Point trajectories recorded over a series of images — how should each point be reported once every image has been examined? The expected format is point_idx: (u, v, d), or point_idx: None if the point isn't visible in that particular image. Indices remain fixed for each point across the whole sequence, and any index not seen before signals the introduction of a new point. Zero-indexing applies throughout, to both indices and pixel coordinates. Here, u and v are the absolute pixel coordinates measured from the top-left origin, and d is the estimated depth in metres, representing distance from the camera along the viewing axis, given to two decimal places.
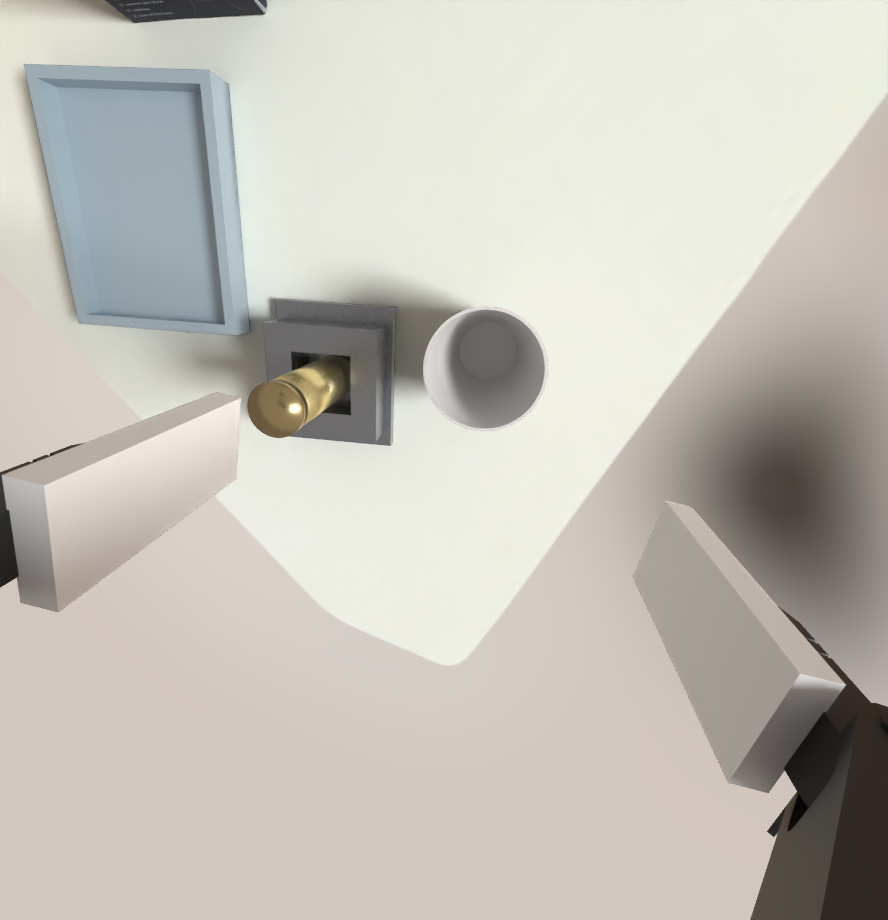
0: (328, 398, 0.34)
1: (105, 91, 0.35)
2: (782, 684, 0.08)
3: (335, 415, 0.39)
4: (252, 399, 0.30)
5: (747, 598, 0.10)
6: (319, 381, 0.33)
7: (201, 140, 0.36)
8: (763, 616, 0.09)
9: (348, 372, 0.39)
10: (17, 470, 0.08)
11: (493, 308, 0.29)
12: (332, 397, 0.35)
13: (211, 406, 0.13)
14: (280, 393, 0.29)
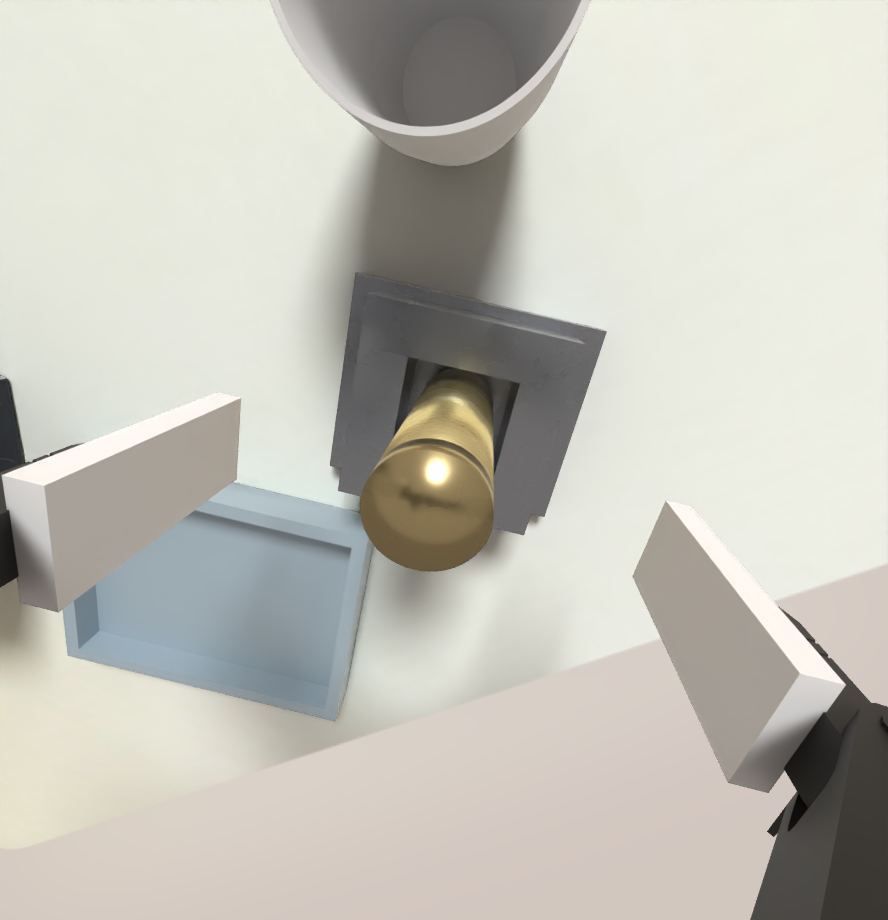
0: (459, 406, 0.16)
1: (98, 585, 0.30)
2: (782, 684, 0.08)
3: (515, 413, 0.20)
4: (394, 552, 0.13)
5: (747, 598, 0.10)
6: (418, 411, 0.16)
7: None
8: (763, 616, 0.09)
9: (447, 374, 0.22)
10: (17, 470, 0.08)
11: None
12: (466, 401, 0.17)
13: (211, 406, 0.13)
14: (386, 489, 0.12)
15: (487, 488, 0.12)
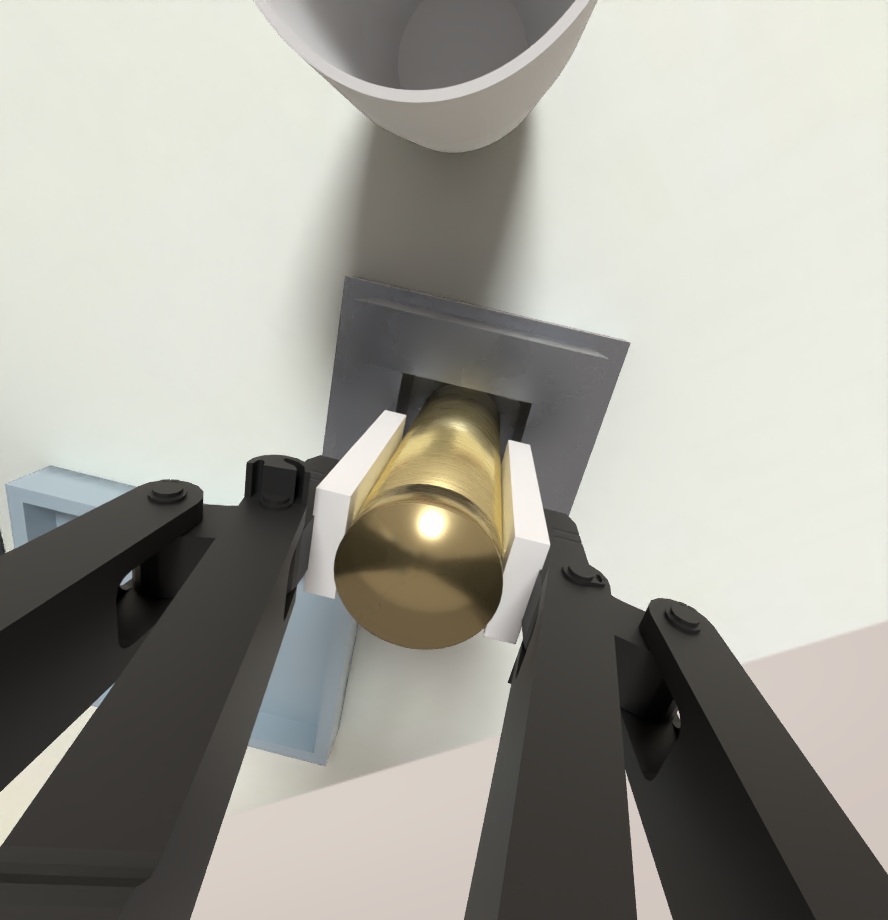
0: (460, 434, 0.14)
1: None
2: (509, 549, 0.10)
3: (526, 438, 0.17)
4: (377, 626, 0.10)
5: (519, 497, 0.12)
6: (412, 441, 0.14)
7: None
8: (520, 507, 0.11)
9: (449, 391, 0.19)
10: (322, 483, 0.10)
11: None
12: (469, 426, 0.15)
13: (394, 424, 0.15)
14: (366, 550, 0.10)
15: (495, 551, 0.10)
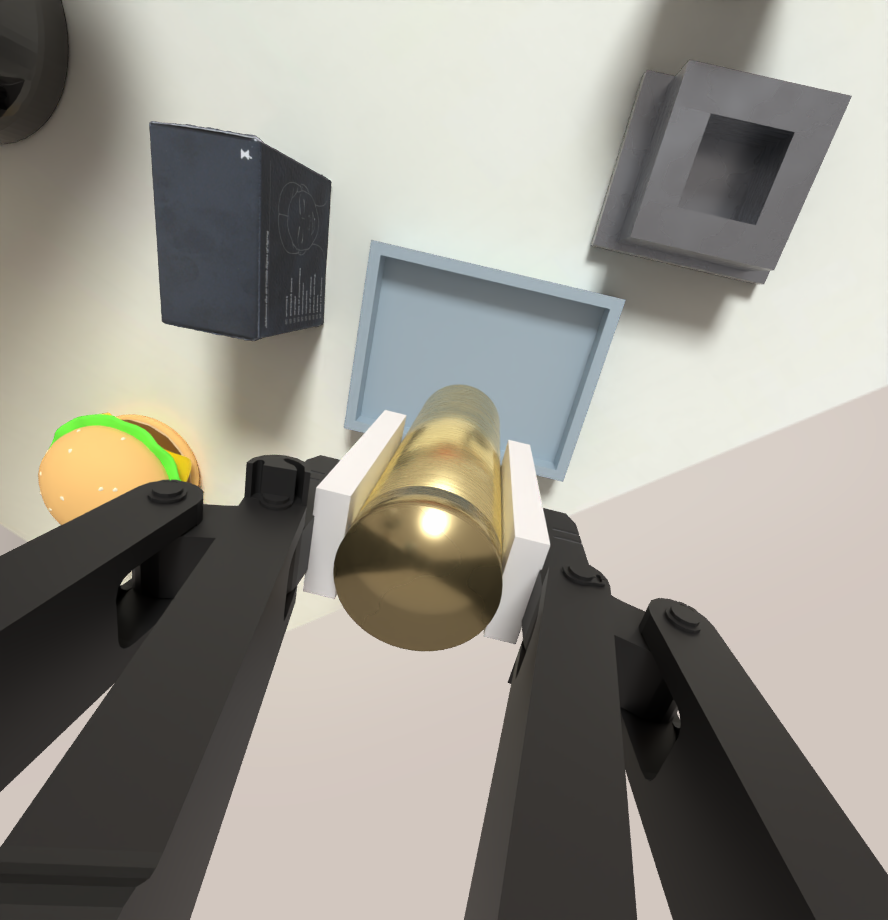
0: (460, 436, 0.14)
1: (369, 370, 0.37)
2: (509, 549, 0.10)
3: (786, 159, 0.27)
4: (377, 628, 0.10)
5: (519, 497, 0.12)
6: (411, 443, 0.14)
7: (422, 284, 0.35)
8: (520, 507, 0.11)
9: (448, 392, 0.19)
10: (322, 483, 0.10)
11: None
12: (468, 428, 0.15)
13: (394, 424, 0.15)
14: (366, 552, 0.10)
15: (494, 553, 0.10)
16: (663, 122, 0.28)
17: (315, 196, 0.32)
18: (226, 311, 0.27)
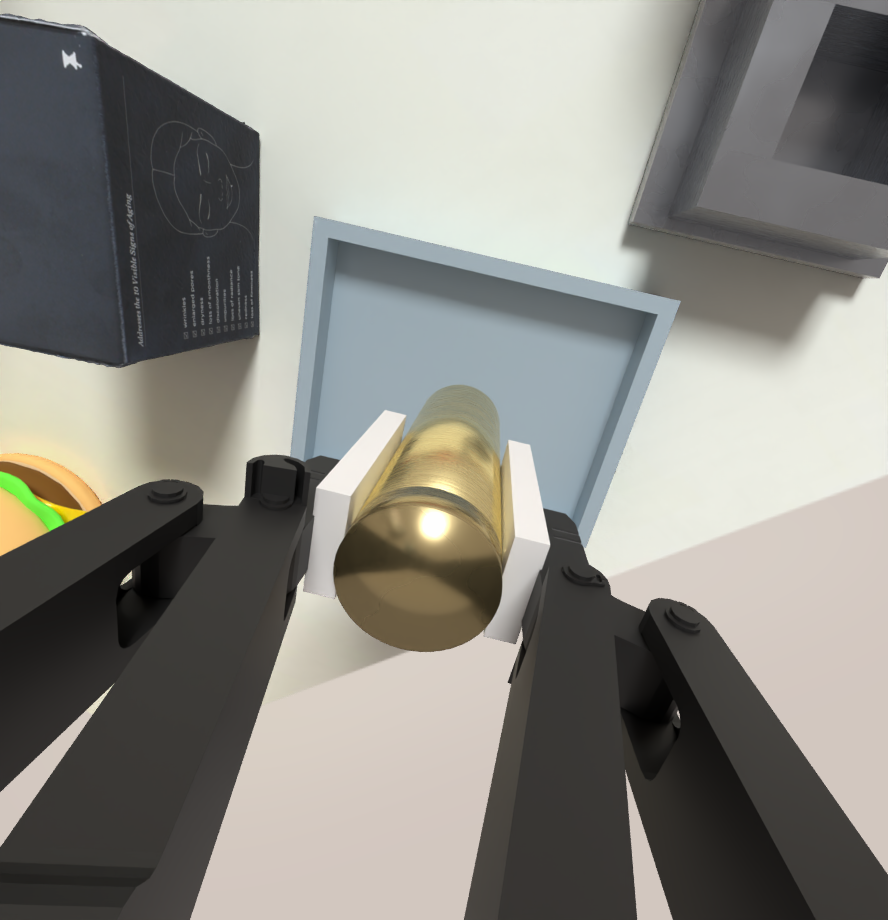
0: (460, 436, 0.14)
1: (323, 397, 0.28)
2: (509, 549, 0.10)
3: None
4: (377, 628, 0.10)
5: (519, 497, 0.12)
6: (411, 443, 0.14)
7: (391, 280, 0.25)
8: (520, 507, 0.11)
9: (448, 392, 0.19)
10: (322, 483, 0.10)
11: None
12: (468, 428, 0.15)
13: (394, 424, 0.15)
14: (365, 552, 0.10)
15: (494, 554, 0.10)
16: (752, 26, 0.18)
17: (231, 151, 0.22)
18: (72, 323, 0.17)
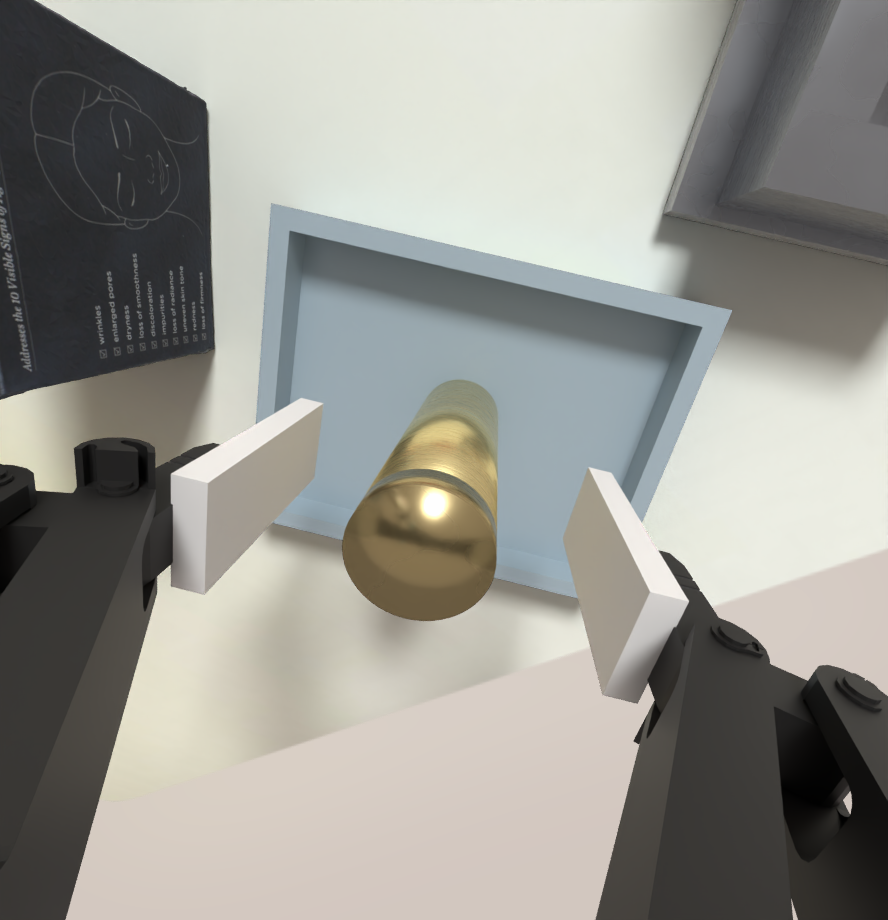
0: (459, 426, 0.15)
1: None
2: (640, 603, 0.09)
3: None
4: (382, 599, 0.11)
5: (630, 540, 0.11)
6: (414, 432, 0.14)
7: (370, 284, 0.20)
8: (638, 552, 0.10)
9: (449, 387, 0.20)
10: (180, 469, 0.09)
11: None
12: (467, 419, 0.16)
13: (303, 412, 0.14)
14: (372, 528, 0.11)
15: (489, 529, 0.10)
16: None
17: (164, 122, 0.17)
18: None
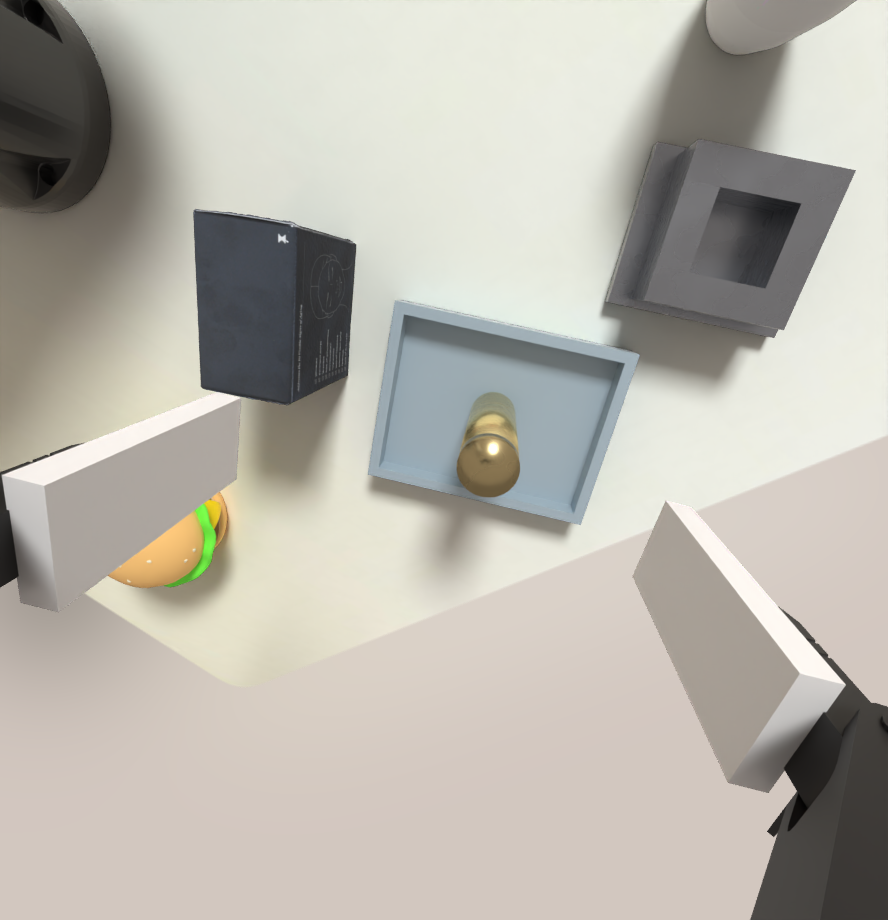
0: (499, 417, 0.31)
1: (392, 419, 0.39)
2: (782, 684, 0.08)
3: (794, 228, 0.28)
4: (471, 488, 0.27)
5: (747, 598, 0.10)
6: (478, 420, 0.30)
7: (443, 339, 0.36)
8: (763, 616, 0.09)
9: (488, 396, 0.36)
10: (17, 470, 0.08)
11: None
12: (502, 413, 0.32)
13: (212, 406, 0.13)
14: (469, 456, 0.27)
15: (517, 456, 0.26)
16: (674, 193, 0.29)
17: (342, 261, 0.33)
18: (262, 379, 0.29)
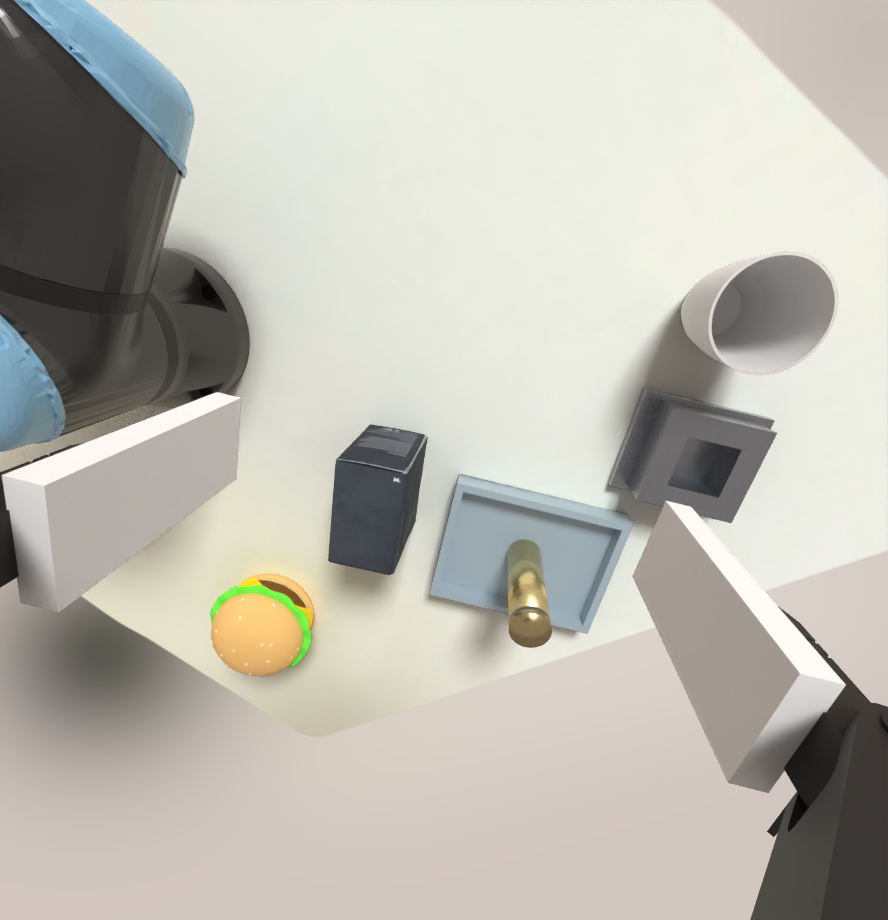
0: (534, 580, 0.44)
1: (448, 553, 0.52)
2: (782, 684, 0.08)
3: (737, 463, 0.41)
4: (518, 641, 0.41)
5: (747, 598, 0.10)
6: (519, 583, 0.44)
7: (489, 503, 0.49)
8: (763, 616, 0.09)
9: (522, 547, 0.49)
10: (17, 470, 0.08)
11: (716, 300, 0.32)
12: (535, 574, 0.45)
13: (211, 406, 0.13)
14: (518, 623, 0.40)
15: (550, 624, 0.40)
16: (657, 432, 0.42)
17: (420, 457, 0.46)
18: (373, 559, 0.42)
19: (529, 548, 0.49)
